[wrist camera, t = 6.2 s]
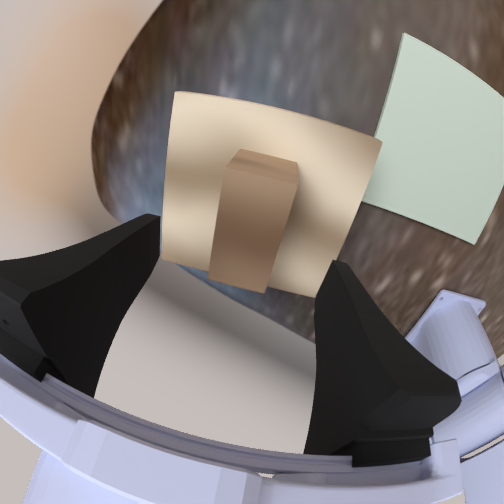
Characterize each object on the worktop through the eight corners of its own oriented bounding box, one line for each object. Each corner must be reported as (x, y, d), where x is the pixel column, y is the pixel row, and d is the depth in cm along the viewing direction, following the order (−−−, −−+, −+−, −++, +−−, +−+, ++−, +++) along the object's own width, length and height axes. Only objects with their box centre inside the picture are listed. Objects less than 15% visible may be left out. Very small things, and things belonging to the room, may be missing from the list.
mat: (472, 242, 19) (474, 244, 19) (352, 196, 19) (353, 198, 19) (522, 116, 12) (525, 117, 11) (402, 33, 12) (404, 32, 11)
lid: (317, 290, 19) (319, 338, 16) (165, 252, 19) (140, 292, 16) (378, 139, 13) (407, 160, 9) (180, 91, 13) (142, 96, 9)
